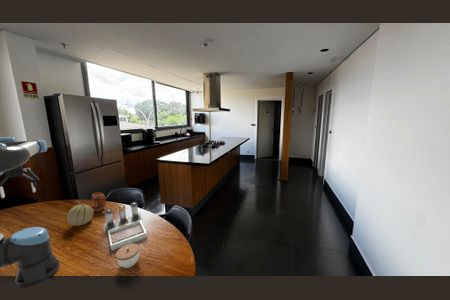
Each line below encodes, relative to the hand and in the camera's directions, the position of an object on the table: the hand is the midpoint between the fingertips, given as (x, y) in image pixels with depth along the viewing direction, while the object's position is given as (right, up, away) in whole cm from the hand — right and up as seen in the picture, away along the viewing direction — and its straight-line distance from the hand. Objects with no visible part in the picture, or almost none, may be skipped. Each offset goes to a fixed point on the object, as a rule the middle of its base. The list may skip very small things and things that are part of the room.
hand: (19, 194), depth 116 cm
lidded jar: (+81, -32, -20) cm, 89 cm away
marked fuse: (+58, -23, +15) cm, 64 cm away
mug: (+29, -22, +34) cm, 50 cm away
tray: (+68, -27, +1) cm, 74 cm away
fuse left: (+52, -24, +10) cm, 58 cm away
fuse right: (+65, -22, +19) cm, 71 cm away
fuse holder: (+58, -25, +15) cm, 65 cm away
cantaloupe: (+28, -25, +15) cm, 41 cm away
